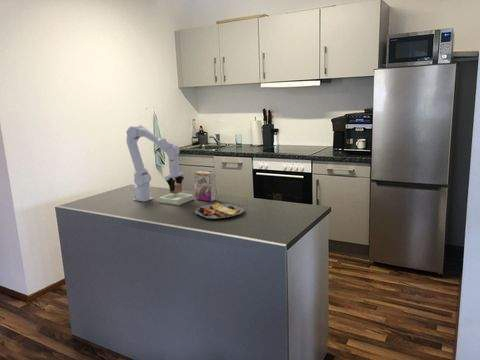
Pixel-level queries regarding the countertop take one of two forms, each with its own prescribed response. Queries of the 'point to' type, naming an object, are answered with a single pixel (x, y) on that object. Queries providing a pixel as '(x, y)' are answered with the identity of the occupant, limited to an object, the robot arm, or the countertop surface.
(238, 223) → the countertop surface
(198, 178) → the candy bar box
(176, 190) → the walnut block
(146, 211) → the countertop surface
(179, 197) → the pale green tray
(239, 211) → the food plate
